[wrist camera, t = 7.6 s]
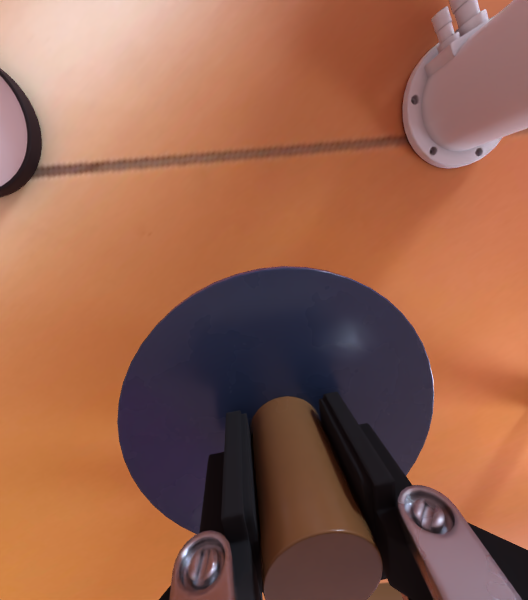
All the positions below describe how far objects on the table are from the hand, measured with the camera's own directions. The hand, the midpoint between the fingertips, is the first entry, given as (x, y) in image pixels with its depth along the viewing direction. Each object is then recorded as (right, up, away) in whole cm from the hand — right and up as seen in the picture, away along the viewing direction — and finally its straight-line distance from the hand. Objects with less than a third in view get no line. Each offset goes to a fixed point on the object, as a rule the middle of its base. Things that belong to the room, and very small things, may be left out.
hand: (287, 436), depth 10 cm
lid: (0, 0, +1) cm, 1 cm away
